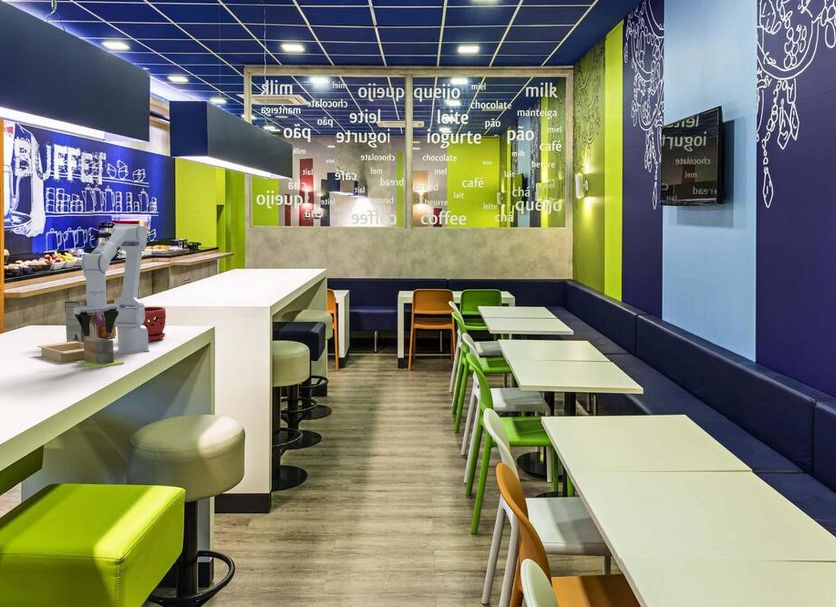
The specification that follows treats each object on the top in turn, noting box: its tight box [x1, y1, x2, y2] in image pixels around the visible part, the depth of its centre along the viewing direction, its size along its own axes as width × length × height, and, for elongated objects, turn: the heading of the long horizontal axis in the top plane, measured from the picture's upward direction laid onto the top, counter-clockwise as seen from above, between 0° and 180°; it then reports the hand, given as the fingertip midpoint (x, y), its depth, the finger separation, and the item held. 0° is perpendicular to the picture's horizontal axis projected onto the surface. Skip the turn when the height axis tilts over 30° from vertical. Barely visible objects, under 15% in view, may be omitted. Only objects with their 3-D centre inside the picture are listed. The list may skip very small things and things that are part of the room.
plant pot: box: [142, 306, 167, 342], centre depth 280 cm, size 13×13×12 cm
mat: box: [73, 359, 125, 370], centre depth 235 cm, size 10×12×1 cm
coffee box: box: [64, 298, 97, 343], centre depth 269 cm, size 9×6×16 cm
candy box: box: [96, 297, 117, 339], centre depth 281 cm, size 9×4×15 cm, turn 141°
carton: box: [37, 341, 84, 363], centre depth 244 cm, size 13×19×4 cm
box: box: [83, 338, 115, 365], centre depth 235 cm, size 4×9×7 cm, turn 55°
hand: (97, 334), depth 234 cm, fingers open, 7 cm apart
